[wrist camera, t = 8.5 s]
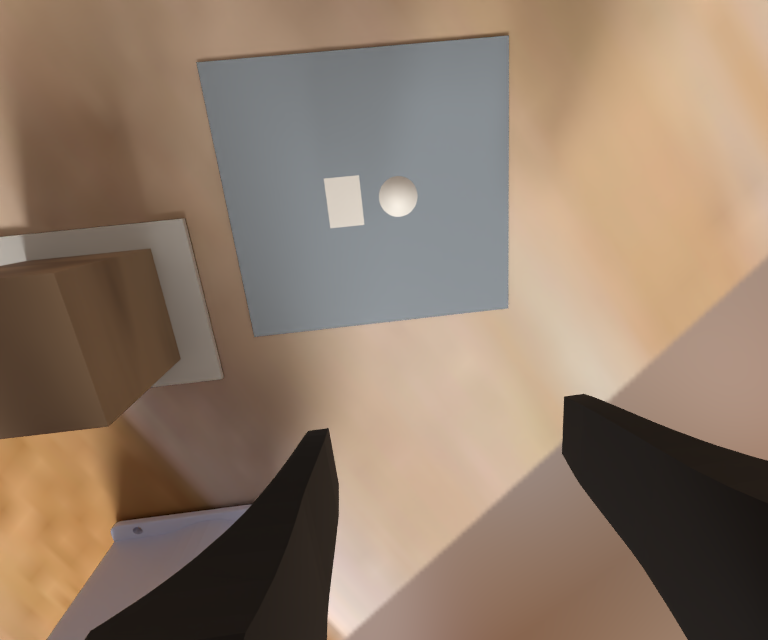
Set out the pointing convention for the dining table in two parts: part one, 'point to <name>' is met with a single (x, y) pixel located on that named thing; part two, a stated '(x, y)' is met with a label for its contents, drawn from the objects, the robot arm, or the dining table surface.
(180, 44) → the dining table surface
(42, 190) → the dining table surface
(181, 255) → the rubber mat
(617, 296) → the dining table surface
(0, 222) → the dining table surface
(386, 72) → the blue-gray square plate
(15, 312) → the walnut block
